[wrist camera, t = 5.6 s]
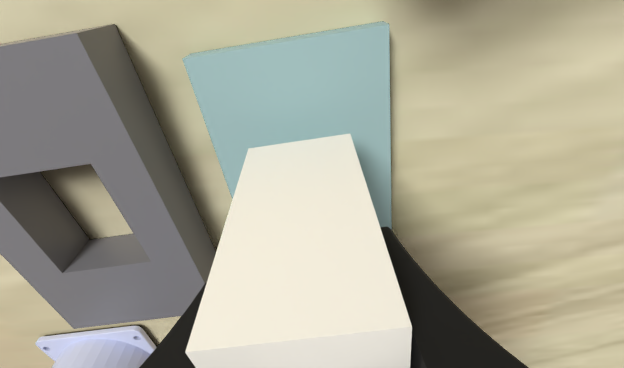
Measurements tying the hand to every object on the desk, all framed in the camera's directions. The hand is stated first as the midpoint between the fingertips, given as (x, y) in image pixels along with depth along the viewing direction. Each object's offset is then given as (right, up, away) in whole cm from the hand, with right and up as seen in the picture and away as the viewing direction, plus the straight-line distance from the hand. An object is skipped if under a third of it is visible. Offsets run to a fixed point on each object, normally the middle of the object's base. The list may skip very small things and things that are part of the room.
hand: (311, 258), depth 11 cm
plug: (0, +2, +3) cm, 4 cm away
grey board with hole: (-11, +2, +6) cm, 13 cm away
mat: (0, +4, +5) cm, 6 cm away
